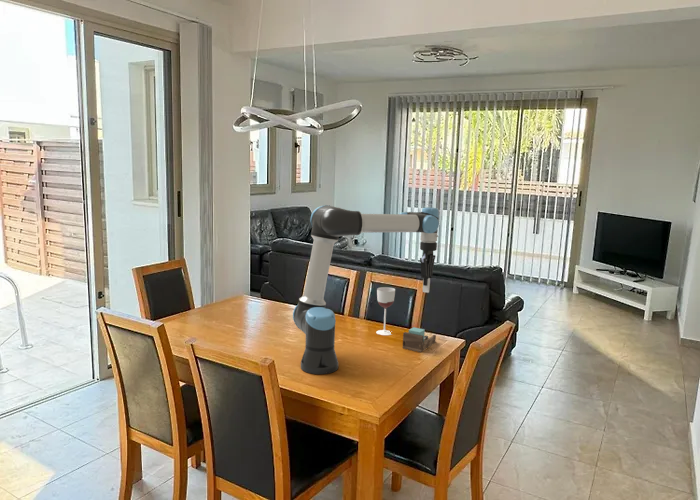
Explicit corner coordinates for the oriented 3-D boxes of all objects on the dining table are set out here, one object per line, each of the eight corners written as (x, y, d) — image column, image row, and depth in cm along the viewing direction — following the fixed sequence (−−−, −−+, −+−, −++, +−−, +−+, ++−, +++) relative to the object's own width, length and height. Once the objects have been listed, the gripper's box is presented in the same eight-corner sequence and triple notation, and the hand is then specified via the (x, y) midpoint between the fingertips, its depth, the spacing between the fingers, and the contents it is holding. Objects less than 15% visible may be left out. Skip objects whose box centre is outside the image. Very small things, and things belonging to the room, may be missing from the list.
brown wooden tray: (420, 352, 226) (421, 336, 225) (402, 348, 231) (403, 333, 230) (435, 342, 241) (436, 327, 240) (418, 338, 245) (418, 324, 244)
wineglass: (372, 333, 251) (373, 289, 248) (380, 328, 259) (382, 286, 256) (388, 336, 247) (390, 292, 244) (396, 331, 255) (398, 288, 252)
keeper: (419, 347, 229) (420, 332, 228) (408, 344, 232) (408, 329, 231) (423, 344, 233) (424, 329, 232) (412, 341, 236) (413, 327, 235)
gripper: (430, 243, 225) (427, 295, 229) (441, 240, 236) (438, 290, 240) (415, 242, 229) (412, 293, 233) (426, 239, 240) (424, 288, 244)
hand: (425, 291), depth 236 cm, fingers closed
